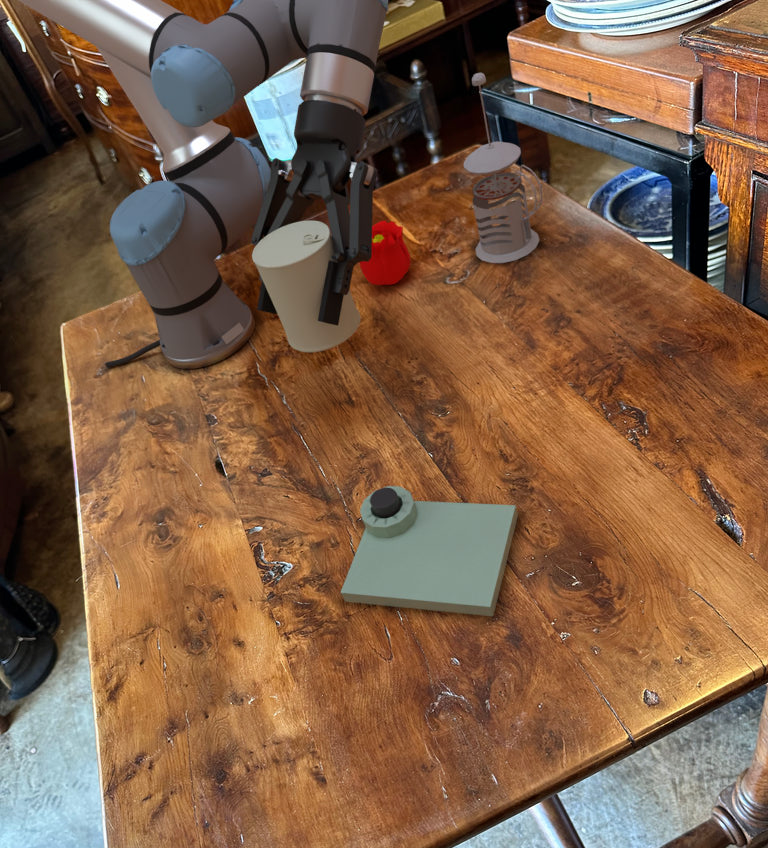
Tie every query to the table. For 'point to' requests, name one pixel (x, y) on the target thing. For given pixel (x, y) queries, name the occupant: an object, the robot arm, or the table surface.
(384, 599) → the scale
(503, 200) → the french press
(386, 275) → the flower
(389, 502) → the button
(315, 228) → the can
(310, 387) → the table surface
